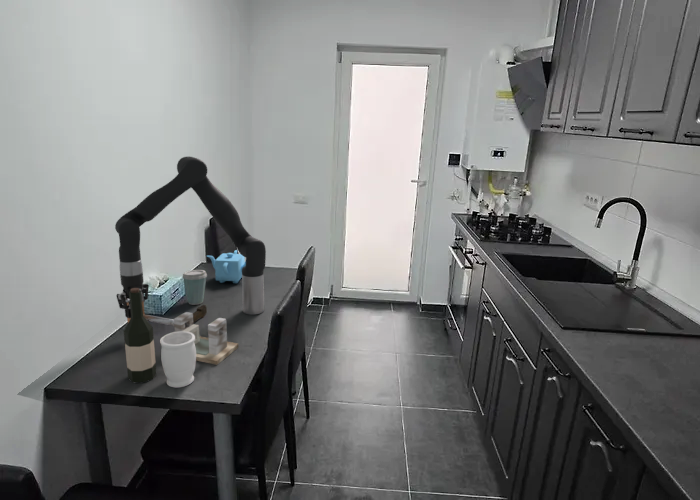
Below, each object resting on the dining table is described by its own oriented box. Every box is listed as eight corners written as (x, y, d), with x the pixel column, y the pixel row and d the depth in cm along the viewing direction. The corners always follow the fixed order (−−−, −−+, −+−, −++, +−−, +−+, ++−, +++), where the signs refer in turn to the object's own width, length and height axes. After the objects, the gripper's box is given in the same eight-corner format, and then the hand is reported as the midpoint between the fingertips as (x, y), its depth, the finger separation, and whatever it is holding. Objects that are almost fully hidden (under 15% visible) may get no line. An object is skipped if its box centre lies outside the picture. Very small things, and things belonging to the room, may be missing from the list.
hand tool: (186, 331, 182) (185, 320, 181) (177, 330, 183) (176, 319, 182) (212, 314, 200) (211, 304, 199) (204, 313, 201) (203, 303, 200)
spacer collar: (194, 340, 171) (193, 324, 169) (199, 341, 170) (198, 325, 169) (183, 347, 165) (182, 331, 163) (188, 348, 164) (187, 332, 163)
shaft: (134, 319, 176) (132, 299, 174) (187, 329, 169) (186, 308, 167) (127, 322, 172) (125, 302, 170) (181, 333, 166) (180, 312, 164)
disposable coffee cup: (178, 304, 209) (176, 272, 205) (194, 296, 218) (193, 266, 214) (197, 308, 205) (196, 276, 201) (213, 300, 214) (211, 269, 211)
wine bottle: (162, 372, 151) (155, 286, 144) (143, 385, 144) (135, 295, 136) (141, 367, 154) (134, 283, 146) (122, 380, 146) (113, 291, 138)
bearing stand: (187, 337, 177) (186, 307, 173) (238, 347, 170) (237, 316, 167) (163, 353, 164) (161, 321, 160) (217, 364, 157) (215, 331, 154)
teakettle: (224, 288, 231) (223, 260, 228) (206, 278, 244) (204, 252, 240) (256, 280, 244) (255, 254, 241) (237, 272, 257) (236, 246, 253)
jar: (168, 372, 152) (165, 330, 148) (200, 372, 152) (198, 330, 149) (158, 390, 141) (155, 346, 137) (193, 389, 142) (190, 345, 138)
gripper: (125, 279, 161) (129, 323, 165) (153, 267, 174) (156, 309, 178) (107, 276, 163) (112, 320, 167) (137, 265, 176) (140, 306, 180)
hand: (135, 314), depth 173 cm, fingers open, 5 cm apart
